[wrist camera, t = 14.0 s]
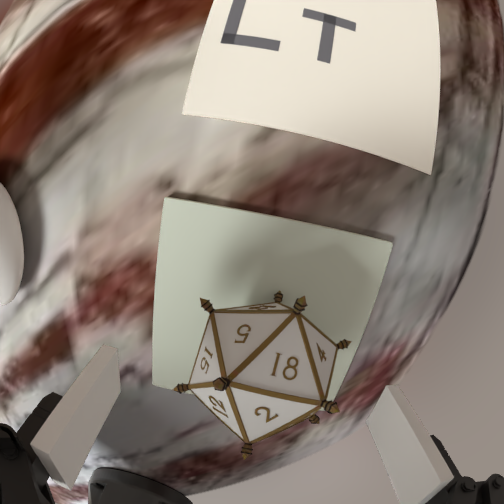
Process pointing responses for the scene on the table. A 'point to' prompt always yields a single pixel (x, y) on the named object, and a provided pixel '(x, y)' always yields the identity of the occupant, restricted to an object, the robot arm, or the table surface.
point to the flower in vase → (9, 249)
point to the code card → (325, 72)
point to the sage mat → (257, 279)
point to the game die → (263, 368)
